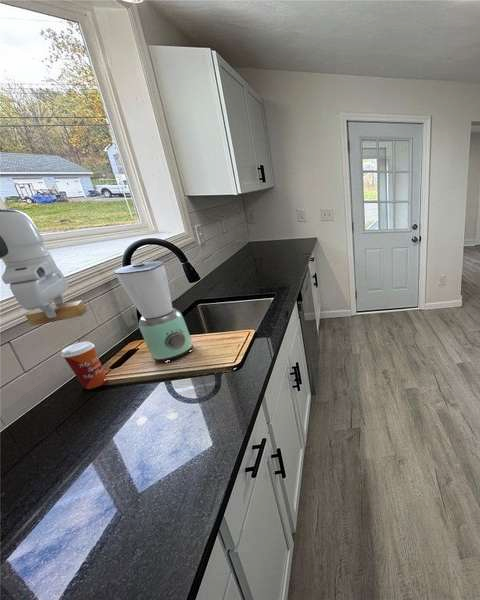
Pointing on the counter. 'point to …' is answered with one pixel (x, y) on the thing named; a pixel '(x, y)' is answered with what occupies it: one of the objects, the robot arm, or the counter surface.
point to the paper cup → (85, 364)
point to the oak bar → (62, 309)
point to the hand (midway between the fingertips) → (57, 313)
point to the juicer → (156, 310)
